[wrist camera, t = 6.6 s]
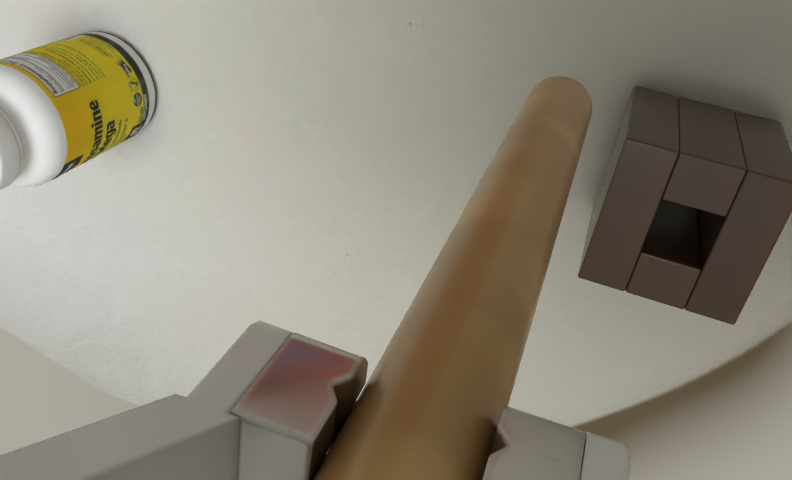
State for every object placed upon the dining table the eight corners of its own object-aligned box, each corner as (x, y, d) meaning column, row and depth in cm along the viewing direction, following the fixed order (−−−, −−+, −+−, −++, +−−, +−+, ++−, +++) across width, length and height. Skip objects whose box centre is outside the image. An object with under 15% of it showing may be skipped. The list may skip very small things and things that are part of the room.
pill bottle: (139, 154, 44) (-2, 237, 35) (56, 92, 44) (-108, 159, 35) (174, 73, 41) (28, 142, 31) (84, 6, 40) (-89, 55, 31)
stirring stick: (600, 84, 19) (369, 893, 4) (582, 145, 20) (339, 987, 5) (535, 68, 20) (116, 767, 5) (519, 129, 21) (127, 876, 6)
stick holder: (781, 122, 32) (805, 185, 26) (724, 245, 35) (734, 326, 29) (634, 85, 33) (625, 137, 27) (592, 207, 36) (577, 277, 30)
